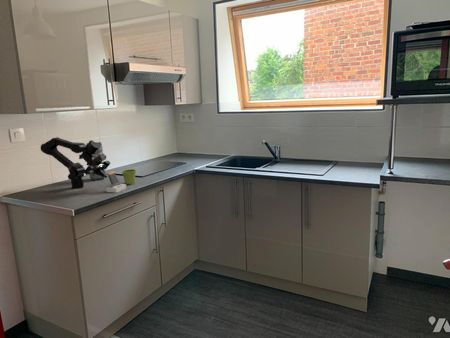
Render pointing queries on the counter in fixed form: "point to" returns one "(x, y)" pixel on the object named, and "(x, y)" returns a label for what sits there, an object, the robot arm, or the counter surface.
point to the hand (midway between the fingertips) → (106, 177)
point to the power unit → (116, 187)
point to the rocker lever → (113, 178)
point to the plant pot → (129, 176)
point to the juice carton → (98, 153)
